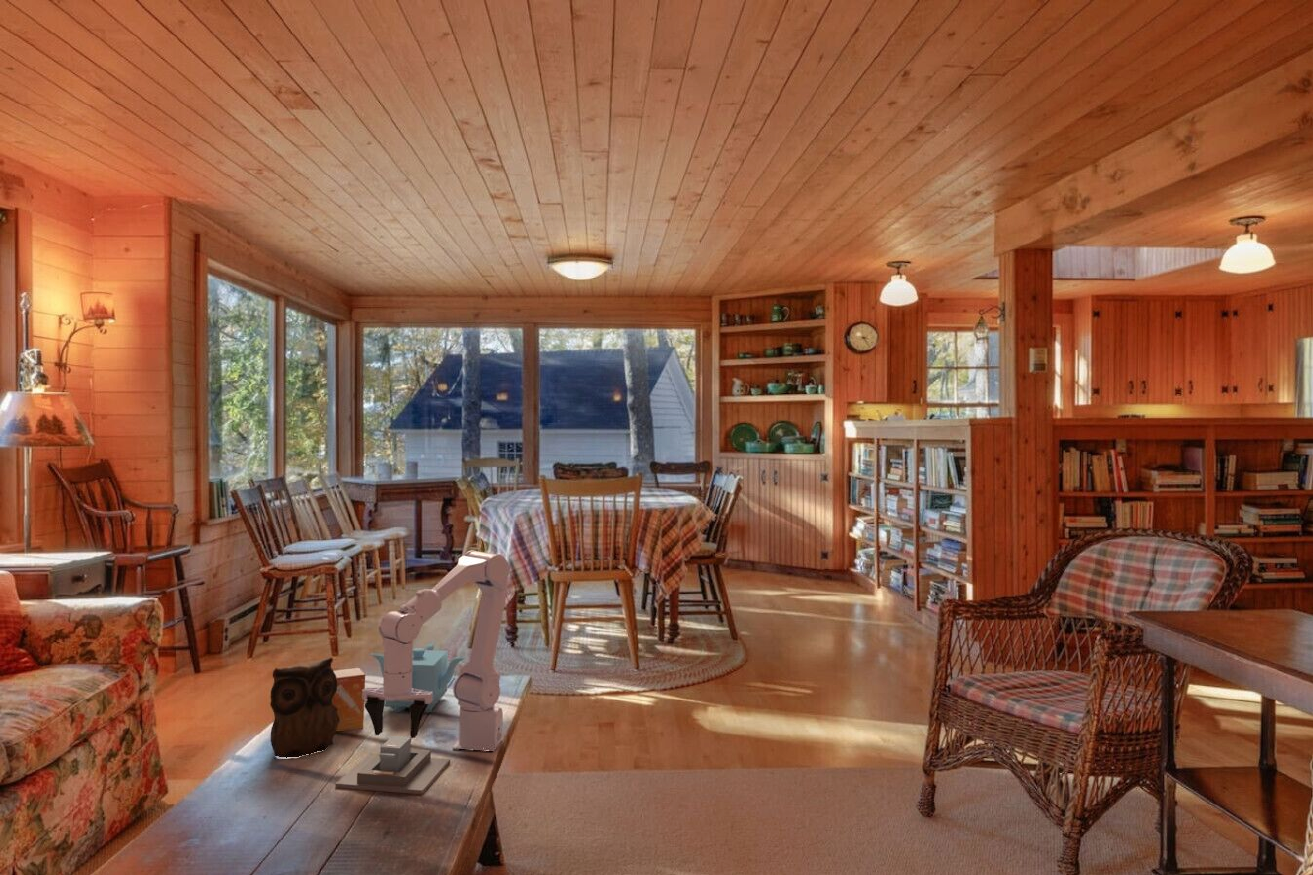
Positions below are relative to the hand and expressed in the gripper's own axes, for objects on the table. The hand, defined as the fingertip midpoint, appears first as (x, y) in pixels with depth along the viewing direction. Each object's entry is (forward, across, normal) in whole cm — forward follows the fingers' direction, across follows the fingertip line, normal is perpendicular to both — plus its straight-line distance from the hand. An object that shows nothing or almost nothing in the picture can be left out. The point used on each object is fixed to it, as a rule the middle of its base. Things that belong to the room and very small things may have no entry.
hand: (396, 734), depth 177 cm
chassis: (+8, 0, 0) cm, 8 cm away
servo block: (+8, 0, 0) cm, 8 cm away
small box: (+9, -23, +24) cm, 34 cm away
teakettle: (+9, -12, +43) cm, 45 cm away
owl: (+8, -26, +10) cm, 29 cm away
